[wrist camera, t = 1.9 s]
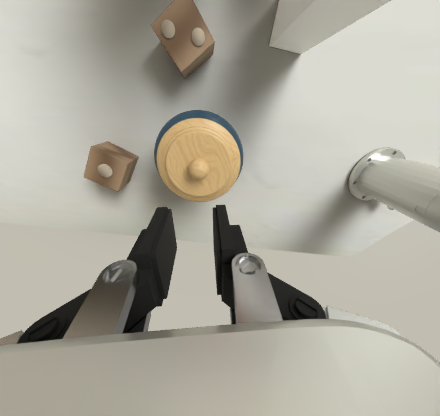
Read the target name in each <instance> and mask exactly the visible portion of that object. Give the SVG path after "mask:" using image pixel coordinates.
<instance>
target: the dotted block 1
mask: <svg viewBox="0 0 440 416" xmlns="http://www.w3.org/2000/svg"><path fill="white" fill-rule="evenodd" d="M137 160H138V156H136V155H134V154H132V153H130V152H128V151H126V150H124V149H122V148H120V147H118V146H116V145H114V144H112V143H110V142H105V143H101V144H98V145H95V146H91V149H90V153H89V157H88V161H87V165H86V169H85V173H84V178H87V179H89V180H91V181H94V182H96V183H99V184H101V185H103V186H106V187H108V188H110V189H113V190H115V191H120V190H121V189H122V188H123V187H124V186H125V185H126V184H127V183H128V182H129V181H130V179H131V176H132V174H133V171H134V168H135V165H136V163H137Z"/></svg>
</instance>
